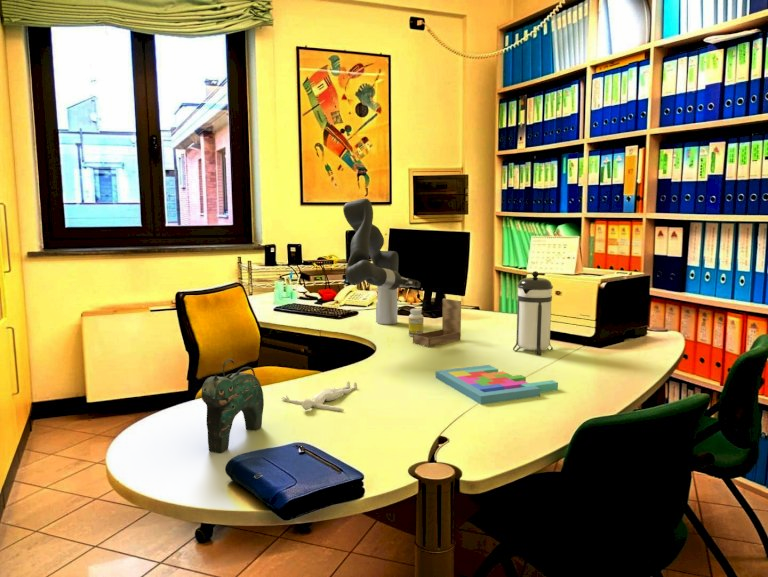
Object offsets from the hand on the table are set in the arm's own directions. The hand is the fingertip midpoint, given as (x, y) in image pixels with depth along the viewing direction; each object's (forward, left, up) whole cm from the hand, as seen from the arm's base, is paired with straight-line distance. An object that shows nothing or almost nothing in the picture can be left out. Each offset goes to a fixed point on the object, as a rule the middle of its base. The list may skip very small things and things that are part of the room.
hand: (410, 284), depth 252 cm
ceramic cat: (+51, -107, -22) cm, 121 cm away
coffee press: (+46, +20, -22) cm, 55 cm away
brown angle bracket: (+12, +3, -22) cm, 25 cm away
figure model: (+41, -73, -23) cm, 87 cm away
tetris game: (+65, -26, -23) cm, 74 cm away
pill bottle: (-2, +5, -22) cm, 23 cm away
